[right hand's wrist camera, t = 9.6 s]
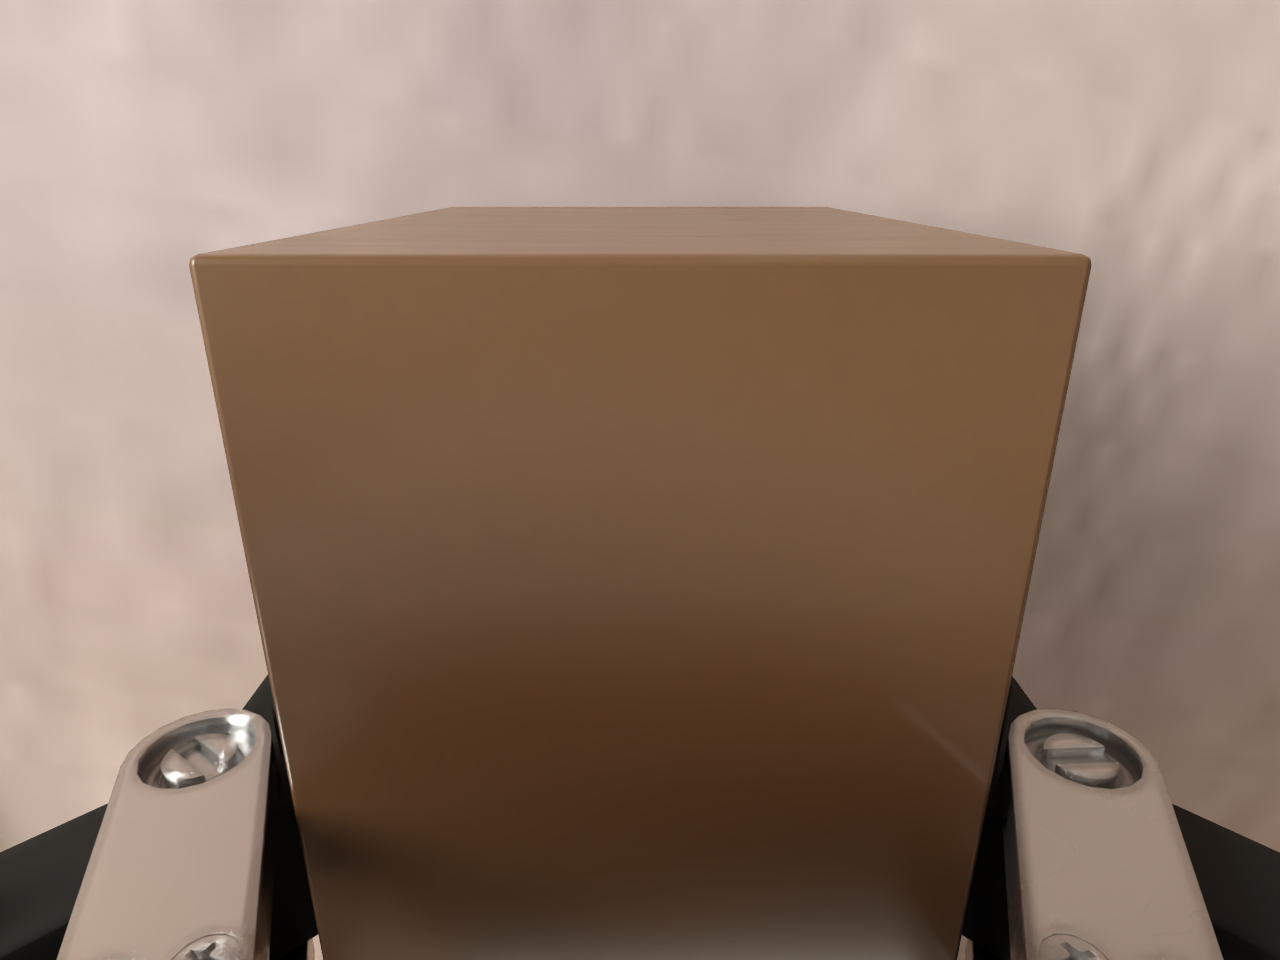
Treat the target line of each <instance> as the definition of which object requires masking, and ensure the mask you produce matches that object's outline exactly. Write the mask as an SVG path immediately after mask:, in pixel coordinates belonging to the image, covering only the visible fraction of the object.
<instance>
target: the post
mask: <svg viewBox="0 0 1280 960" xmlns="http://www.w3.org/2000/svg"><path fill="white" fill-rule="evenodd" d="M189 267H190V272H191V277H192V282H193V288H194V293H195V298H196V303H197V308H198V313H199V319H200V324H201V329H202V334H203V339H204V344H205V350H206V355H207V360H208V365H209V370H210V375H211V381H212V386H213V391H214V396H215V401H216V406H217V412H218V417H219V422H220V427H221V432H222V437H223V443H224V448H225V453H226V458H227V463H228V469H229V474H230V479H231V484H232V489H233V494H234V500H235V505H236V510H237V515H238V520H239V525H240V531H241V536H242V541H243V546H244V551H245V556H246V562H247V567H248V572H249V577H250V582H251V587H252V593H253V598H254V603H255V608H256V613H257V619H258V624H259V629H260V634H261V639H262V644H263V650H264V655H265V660H266V665H267V670H268V675H269V681H270V686H271V691H272V696H273V701H274V706H275V712H276V717H277V722H278V727H279V732H280V737H281V743H282V748H283V753H284V758H285V763H286V768H287V774H288V779H289V784H290V789H291V794H292V800H293V805H294V810H295V815H296V820H297V825H298V831H299V836H300V841H301V846H302V851H303V856H304V862H305V867H306V872H307V877H308V882H309V887H310V893H311V898H312V903H313V908H314V913H315V918H316V924H317V929H318V934H319V939H320V944H321V950H322V955H323V960H957V956H958V951H959V946H960V940H961V935H962V930H963V925H964V920H965V915H966V910H967V904H968V899H969V894H970V889H971V884H972V879H973V873H974V868H975V863H976V858H977V853H978V848H979V842H980V837H981V832H982V827H983V822H984V817H985V812H986V806H987V801H988V796H989V791H990V786H991V781H992V775H993V770H994V765H995V760H996V755H997V750H998V744H999V739H1000V734H1001V729H1002V724H1003V719H1004V713H1005V708H1006V703H1007V698H1008V693H1009V688H1010V683H1011V677H1012V672H1013V667H1014V662H1015V657H1016V652H1017V646H1018V641H1019V636H1020V631H1021V626H1022V621H1023V615H1024V610H1025V605H1026V600H1027V595H1028V590H1029V584H1030V579H1031V574H1032V569H1033V564H1034V559H1035V554H1036V548H1037V543H1038V538H1039V533H1040V528H1041V523H1042V517H1043V512H1044V507H1045V502H1046V497H1047V492H1048V486H1049V481H1050V476H1051V471H1052V466H1053V461H1054V455H1055V450H1056V445H1057V440H1058V435H1059V430H1060V425H1061V419H1062V414H1063V409H1064V404H1065V399H1066V394H1067V388H1068V383H1069V378H1070V373H1071V368H1072V363H1073V357H1074V352H1075V347H1076V342H1077V337H1078V332H1079V327H1080V321H1081V316H1082V311H1083V306H1084V301H1085V296H1086V290H1087V285H1088V280H1089V275H1090V270H1091V260H1090V258H1089V257H1087V256H1085V255H1082V254H1077V253H1072V252H1067V251H1061V250H1056V249H1050V248H1045V247H1040V246H1034V245H1029V244H1023V243H1018V242H1012V241H1007V240H1002V239H996V238H991V237H985V236H980V235H975V234H969V233H964V232H958V231H953V230H947V229H942V228H937V227H931V226H926V225H920V224H915V223H910V222H904V221H899V220H893V219H888V218H882V217H877V216H872V215H866V214H861V213H855V212H850V211H845V210H839V209H834V208H828V207H451V208H445V209H440V210H435V211H429V212H424V213H419V214H413V215H408V216H402V217H397V218H392V219H386V220H381V221H375V222H370V223H365V224H359V225H354V226H348V227H343V228H338V229H332V230H327V231H322V232H316V233H311V234H305V235H300V236H295V237H289V238H284V239H278V240H273V241H268V242H262V243H257V244H252V245H246V246H241V247H235V248H230V249H225V250H219V251H214V252H208V253H203V254H198V255H196V256H194V257H192V258H191V259H190V264H189Z"/></svg>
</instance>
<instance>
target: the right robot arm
mask: <svg viewBox="0 0 1280 960" xmlns="http://www.w3.org/2000/svg"><path fill="white" fill-rule="evenodd" d="M316 935H318V929H317V924H316V918H315V913H314V908H313V903H312V898H311V893H310V887H309V882H308V877H307V872H306V867H305V862H304V856H303V851H302V846H301V841H300V836H299V831H298V825H297V820H296V815H295V810H294V805H293V800H292V794H291V789H290V784H289V779H288V774H287V768H286V763H285V758H284V753H283V748H282V743H281V737H280V732H279V727H278V722H277V717H276V712H275V706H274V701H273V696H272V691H271V686H270V681H269V675H267V677H266V678H265V679H264V681H263V682H262V683H261V685H260V686H259V687H258V689H257V690H256V692H255V693H254V694H253V696H252V697H251V698H250V700H249V701H248V702H247V704H246V705H245V707H244V708H243V709H242V710H239V709H220V710H211V711H205V712H201V713H197V714H194V715H190V716H186V717H183V718H181V719H179V720H176V721H174V722H172V723H170V724H167V725H165V726H163V727H161V728H159V729H158V730H156V731H155V732H153V733H152V734H150V735H148V736H147V737H145V738H144V739H143V740H141V741H140V742H139V743H138V744H137V745H136V746H135V747H134V748H133V749H132V750H131V751H130V752H129V753H128V755H127V756H126V758H125V760H124V762H123V763H122V765H121V767H120V770H119V773H118V776H117V779H116V782H115V785H114V788H113V791H112V794H111V797H110V800H109V803H108V804H106V805H104V806H101V807H99V808H97V809H95V810H93V811H90V812H88V813H86V814H84V815H82V816H79V817H77V818H75V819H73V820H71V821H68V822H66V823H64V824H62V825H60V826H58V827H55V828H53V829H51V830H49V831H47V832H44V833H42V834H40V835H38V836H36V837H33V838H31V839H29V840H27V841H25V842H22V843H20V844H18V845H16V846H14V847H11V848H9V849H7V850H5V851H3V852H0V960H314V957H315V950H314V945H313V940H312V938H313V937H314V936H316ZM962 935H963V936H965V937H966V938H968V940H967V945H966V950H965V958H966V960H1280V853H1279V852H1277V851H1275V850H1272V849H1270V848H1268V847H1266V846H1264V845H1261V844H1259V843H1257V842H1255V841H1253V840H1250V839H1248V838H1246V837H1244V836H1242V835H1239V834H1237V833H1235V832H1233V831H1231V830H1228V829H1226V828H1224V827H1222V826H1220V825H1217V824H1215V823H1213V822H1211V821H1209V820H1206V819H1204V818H1202V817H1200V816H1198V815H1196V814H1193V813H1191V812H1189V811H1187V810H1185V809H1182V808H1180V807H1178V806H1176V805H1174V804H1172V803H1171V800H1170V797H1169V794H1168V791H1167V788H1166V785H1165V782H1164V779H1163V776H1162V773H1161V770H1160V767H1159V765H1158V763H1157V762H1156V760H1155V758H1154V756H1153V755H1152V753H1151V752H1150V751H1149V750H1148V749H1147V748H1146V747H1145V746H1144V745H1143V744H1142V743H1141V742H1140V741H1139V740H1137V739H1136V738H1135V737H1133V736H1132V735H1130V734H1128V733H1127V732H1125V731H1124V730H1122V729H1121V728H1119V727H1117V726H1115V725H1113V724H1110V723H1108V722H1106V721H1104V720H1101V719H1099V718H1097V717H1094V716H1090V715H1086V714H1083V713H1079V712H1075V711H1069V710H1060V709H1041V710H1037V709H1036V708H1035V706H1034V705H1033V704H1032V702H1031V701H1030V700H1029V698H1028V697H1027V695H1026V694H1025V693H1024V691H1023V690H1022V689H1021V687H1020V686H1019V685H1018V683H1017V682H1016V680H1015V679H1014V678H1013V676H1012V677H1011V683H1010V688H1009V693H1008V698H1007V703H1006V708H1005V713H1004V719H1003V724H1002V729H1001V734H1000V739H999V744H998V750H997V755H996V760H995V765H994V770H993V775H992V781H991V786H990V791H989V796H988V801H987V806H986V812H985V817H984V822H983V827H982V832H981V837H980V842H979V848H978V853H977V858H976V863H975V868H974V873H973V879H972V884H971V889H970V894H969V899H968V904H967V910H966V915H965V920H964V925H963V930H962Z"/></svg>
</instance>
